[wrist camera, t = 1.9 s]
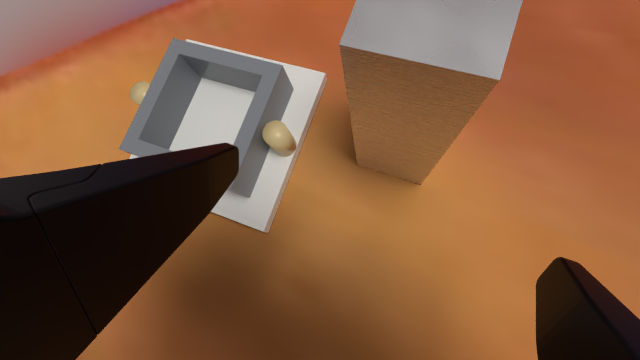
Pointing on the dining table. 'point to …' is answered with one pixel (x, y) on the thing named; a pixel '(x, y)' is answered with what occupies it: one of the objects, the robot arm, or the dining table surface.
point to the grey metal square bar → (420, 76)
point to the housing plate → (229, 119)
